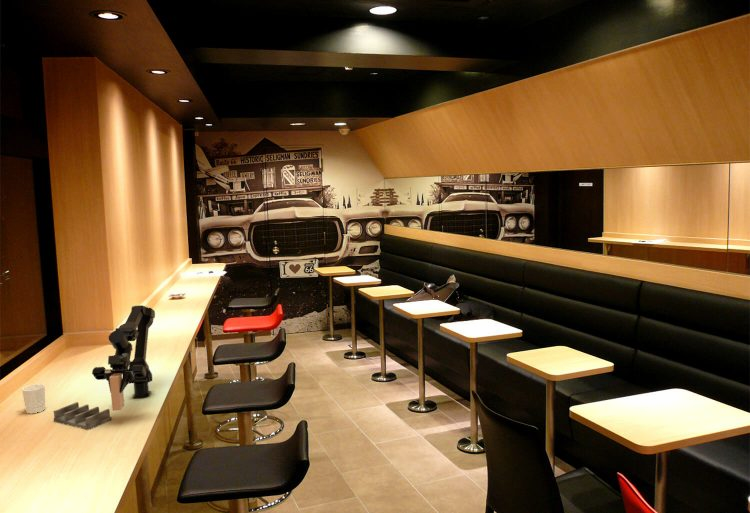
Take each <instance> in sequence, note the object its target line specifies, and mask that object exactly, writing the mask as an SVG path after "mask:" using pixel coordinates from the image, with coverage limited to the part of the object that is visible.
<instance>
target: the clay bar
mask: <svg viewBox="0 0 750 513" xmlns="http://www.w3.org/2000/svg"><path fill="white" fill-rule="evenodd" d="M109 378H110V388H109V390H110V389H111V393H110V398H111V407H112V408H111V409H112V411H122V409H123V408H124V407H125V397H124V390H123V391H122V393H120V386H121V382H122V378H123V374H122V373H115V374H113V375H112V376H110V377H109Z"/></svg>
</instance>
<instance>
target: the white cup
mask: <svg viewBox="0 0 750 513" xmlns="http://www.w3.org/2000/svg"><path fill="white" fill-rule="evenodd" d="M45 390H46V388H45V384H44V383H37V384H35V383H33V384H29V385H27V386H24V387H22V389H21V391H22V397H23V403H24V406H25V411H26V412H27V413H26V414H28V413H31V414H30V415H33V414H32V413H36V414H38V413H37V412H40V413H42V412H44V411H45V410H46V391H45ZM44 409H45V410H44ZM43 410H44V411H43ZM41 411H42V412H41Z"/></svg>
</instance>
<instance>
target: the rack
mask: <svg viewBox="0 0 750 513" xmlns="http://www.w3.org/2000/svg"><path fill="white" fill-rule="evenodd" d="M53 417H54V418H53V422H55V421H56V422H55V423H58V424H59V423H60V424H63V423H64V424H63V425H67V424H69V425H68V426H71V425H72V427H75V426H77V427H76V428H79V427H81V428H80V429H83V428H85V430H87V429H90V430H92V429H94V428H97V427H99V426H101V425H103V424H105V423H107V422H110V421H112V417H111V410H110V409H109V408H107V409H104V410H101V411H100V407H99V406H95V407H93V408H91V409H90V406H89V404H83V405H82V406H79V401H78V402H77V401H76V402H74V403H72V404H69V405H65V406H63V407H61V408H58V409H56V410H54V411H53ZM98 425H99V426H98ZM93 427H94V428H93ZM91 428H92V429H91Z"/></svg>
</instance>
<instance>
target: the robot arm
mask: <svg viewBox="0 0 750 513" xmlns="http://www.w3.org/2000/svg"><path fill="white" fill-rule="evenodd" d="M155 317H156V311H155V310H154V309H153V308H152V307H148V306H146V305H143V304H142V305H132V306H131V311H130V313H129V315H128V317H127V319H126V320H125V323H123V324H120V326H119V327H117V328H115V329H114V331H112V332H111V333H110V334H109V335H108V341H109V342H110V344H111V345H112V348H113V349H114V350H115V352H114V354H113V355H108V356H107V357H108V358H107V365H109V367H110V368H106V367H105V366H95V367H94V368H93V369H92V372H91V374H92V375H93V377H94V378H95V380H97V381H99V380H101V381H102V380H106V381H107V382H108V386H109V387H108V388H109V391H110V392H109V393H110V394H111V389H110V378H109V377H110V376H112V375H113V374H115V373H122V382H121V386H120V393H122V391H123V392H124V390H125V388H126V387H127V386H128V385H129V384H133V391H134V393H133V396H132V398H133V399H139V398H140V399H141V398H148V397H150V396H151V395H150V394H151V390H149V383H150V382H152V381H153V374H152V373H153V372H151V370H150V365H148V364H149V363H148V362H147V361H146V360H147V348H148V338H149V337H148V336H149V329H150V327H151V326H152V325H153V324H154V319H155ZM131 342H135V346H134V347H135V348H134V358H133V360H131V356H132V351H133V344H132V343H131Z"/></svg>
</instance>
